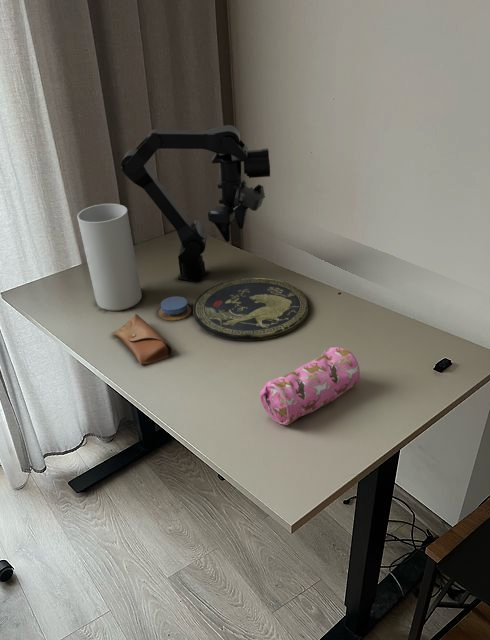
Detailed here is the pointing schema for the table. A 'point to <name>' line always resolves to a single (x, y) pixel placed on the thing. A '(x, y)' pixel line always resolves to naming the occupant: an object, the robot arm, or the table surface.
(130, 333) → the sunglasses case
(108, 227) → the cylinder vase
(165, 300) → the flat blue disc
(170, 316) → the coaster
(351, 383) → the pencil case
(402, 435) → the table surface
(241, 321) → the decorative plate
